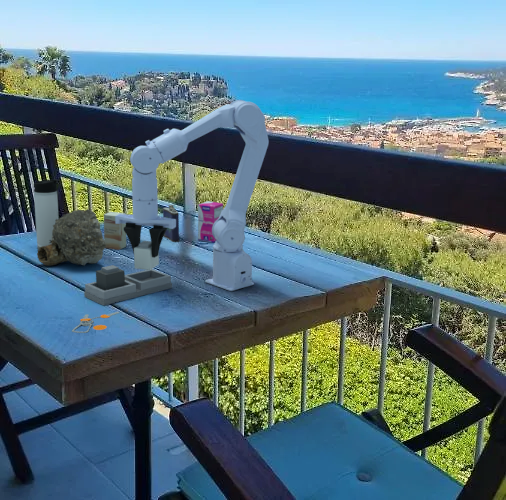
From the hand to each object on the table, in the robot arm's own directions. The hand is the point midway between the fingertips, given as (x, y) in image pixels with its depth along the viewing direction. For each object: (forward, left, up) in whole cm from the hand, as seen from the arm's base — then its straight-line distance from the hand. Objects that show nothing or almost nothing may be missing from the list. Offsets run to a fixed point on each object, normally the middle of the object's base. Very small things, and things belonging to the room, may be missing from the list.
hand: (146, 255), depth 159 cm
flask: (+34, -34, -8) cm, 49 cm away
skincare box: (+36, -15, -8) cm, 40 cm away
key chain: (-11, +21, -9) cm, 25 cm away
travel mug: (+47, 0, -8) cm, 48 cm away
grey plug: (0, 0, -3) cm, 3 cm away
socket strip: (0, +5, -8) cm, 9 cm away
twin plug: (0, +10, -7) cm, 12 cm away
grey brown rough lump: (+30, +3, -8) cm, 31 cm away
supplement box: (+25, -42, -8) cm, 50 cm away
